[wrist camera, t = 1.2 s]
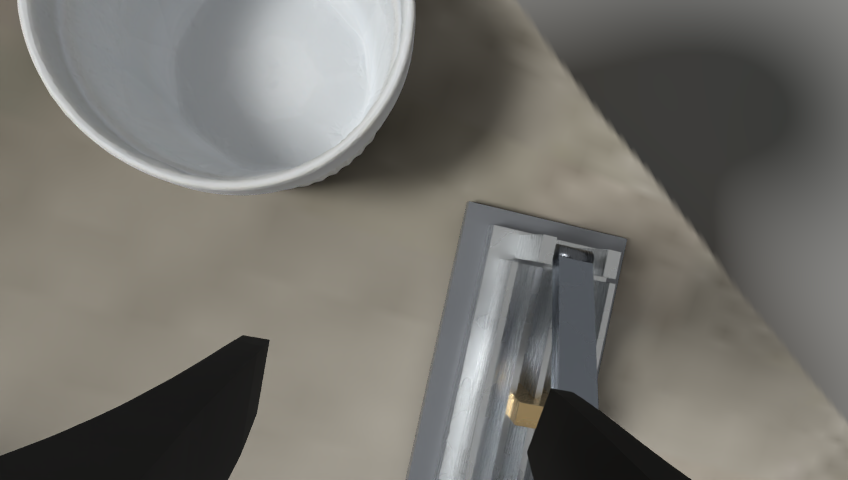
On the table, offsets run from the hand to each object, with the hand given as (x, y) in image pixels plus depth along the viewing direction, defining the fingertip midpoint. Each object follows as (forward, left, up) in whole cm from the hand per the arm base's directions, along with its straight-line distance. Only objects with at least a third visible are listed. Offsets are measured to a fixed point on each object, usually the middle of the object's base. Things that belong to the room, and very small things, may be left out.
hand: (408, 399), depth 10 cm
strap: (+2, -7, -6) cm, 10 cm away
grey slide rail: (-2, -7, -11) cm, 13 cm away
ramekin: (+11, +9, -11) cm, 18 cm away
